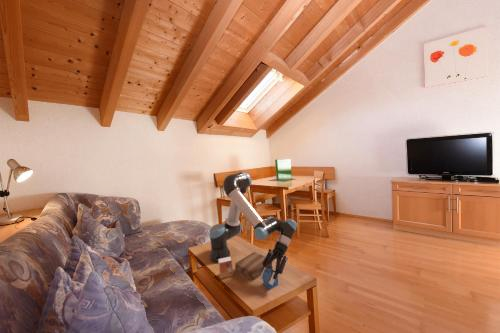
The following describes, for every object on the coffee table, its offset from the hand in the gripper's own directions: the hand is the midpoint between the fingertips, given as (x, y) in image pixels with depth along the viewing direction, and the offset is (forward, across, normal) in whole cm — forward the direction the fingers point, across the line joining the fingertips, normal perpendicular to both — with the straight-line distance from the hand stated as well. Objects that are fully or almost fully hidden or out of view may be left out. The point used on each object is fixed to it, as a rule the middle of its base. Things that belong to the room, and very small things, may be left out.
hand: (265, 281), depth 125 cm
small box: (+9, +28, +3) cm, 30 cm away
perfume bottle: (0, 0, -5) cm, 5 cm away
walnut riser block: (-2, +19, -8) cm, 21 cm away
